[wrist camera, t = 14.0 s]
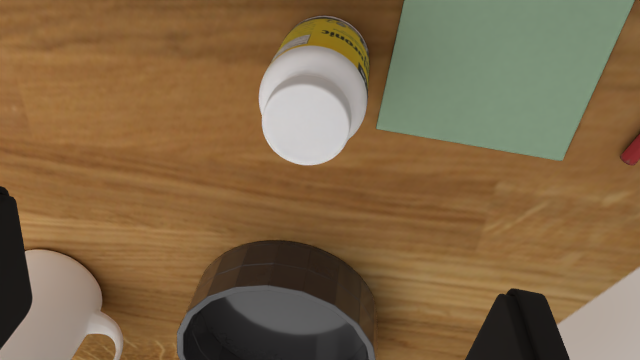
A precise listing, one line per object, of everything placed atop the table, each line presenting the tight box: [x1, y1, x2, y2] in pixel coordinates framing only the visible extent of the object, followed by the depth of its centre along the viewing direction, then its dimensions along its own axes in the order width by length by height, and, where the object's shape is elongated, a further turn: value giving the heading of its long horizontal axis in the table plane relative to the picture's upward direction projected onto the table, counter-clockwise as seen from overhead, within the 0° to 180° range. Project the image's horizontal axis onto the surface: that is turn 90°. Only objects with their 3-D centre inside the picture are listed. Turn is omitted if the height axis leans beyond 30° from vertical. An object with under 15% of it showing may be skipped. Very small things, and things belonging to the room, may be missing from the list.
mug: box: [0, 249, 123, 360], centre depth 40 cm, size 9×12×11 cm
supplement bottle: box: [259, 16, 370, 165], centre depth 27 cm, size 5×5×10 cm
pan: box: [177, 241, 378, 360], centre depth 41 cm, size 15×15×5 cm
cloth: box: [376, 0, 635, 161], centre depth 29 cm, size 12×14×1 cm
